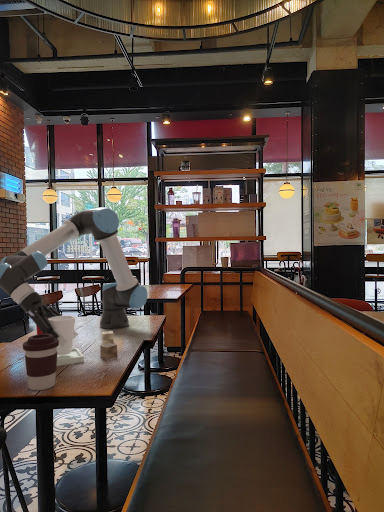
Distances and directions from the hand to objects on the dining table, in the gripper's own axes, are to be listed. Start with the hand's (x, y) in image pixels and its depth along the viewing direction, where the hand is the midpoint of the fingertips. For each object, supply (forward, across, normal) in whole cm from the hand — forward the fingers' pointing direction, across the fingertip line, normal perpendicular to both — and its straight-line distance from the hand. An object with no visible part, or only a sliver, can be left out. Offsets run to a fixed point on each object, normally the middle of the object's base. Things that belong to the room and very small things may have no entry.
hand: (70, 340), depth 131 cm
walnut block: (+15, -4, +4) cm, 16 cm away
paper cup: (-11, -30, -22) cm, 39 cm away
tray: (+3, 0, -7) cm, 8 cm away
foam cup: (+1, 0, -6) cm, 6 cm away
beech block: (+10, -24, 0) cm, 26 cm away
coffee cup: (+6, +25, -4) cm, 26 cm away
